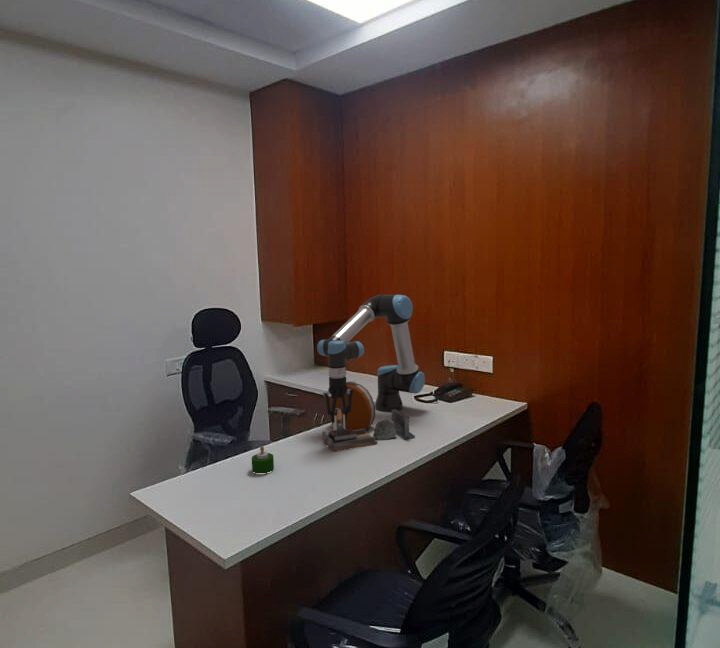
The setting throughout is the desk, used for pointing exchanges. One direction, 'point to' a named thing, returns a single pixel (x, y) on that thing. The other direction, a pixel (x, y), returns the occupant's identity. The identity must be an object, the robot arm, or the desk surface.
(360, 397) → the alarm clock
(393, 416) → the angle bracket
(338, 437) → the ram
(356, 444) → the brown shallow box
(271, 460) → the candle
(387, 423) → the stone
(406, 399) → the desk surface
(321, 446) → the desk surface
